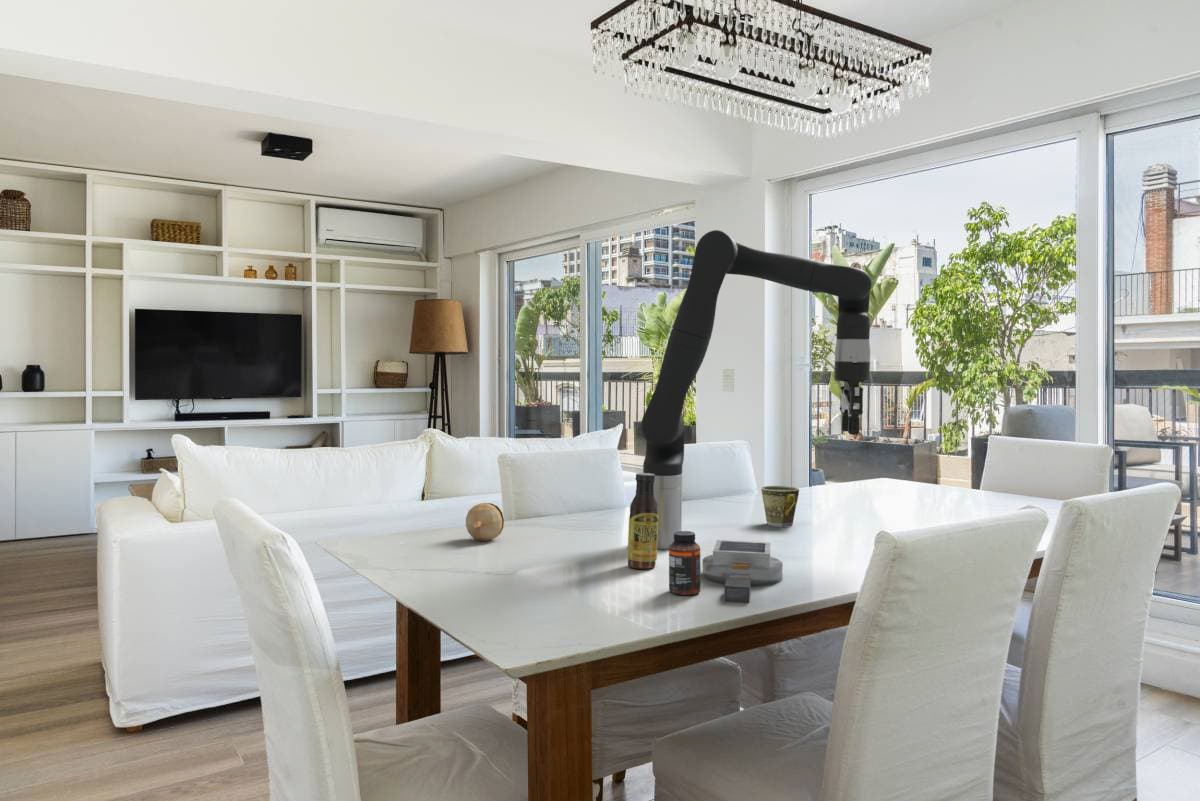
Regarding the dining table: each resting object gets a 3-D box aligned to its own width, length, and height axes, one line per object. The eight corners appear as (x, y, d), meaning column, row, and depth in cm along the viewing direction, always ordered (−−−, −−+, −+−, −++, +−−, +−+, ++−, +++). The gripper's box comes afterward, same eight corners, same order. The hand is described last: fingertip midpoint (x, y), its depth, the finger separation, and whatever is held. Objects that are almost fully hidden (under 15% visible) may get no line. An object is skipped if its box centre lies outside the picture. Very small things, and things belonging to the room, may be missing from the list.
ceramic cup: (754, 522, 229) (754, 486, 228) (786, 520, 232) (787, 485, 231) (778, 531, 216) (778, 493, 216) (811, 529, 219) (812, 491, 219)
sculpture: (510, 503, 210) (489, 497, 195) (513, 540, 207) (492, 536, 193) (476, 507, 211) (452, 501, 197) (478, 544, 209) (454, 541, 195)
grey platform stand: (692, 599, 152) (692, 566, 152) (706, 564, 179) (706, 537, 178) (782, 604, 148) (782, 571, 148) (782, 569, 175) (782, 540, 175)
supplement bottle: (697, 588, 160) (698, 529, 159) (702, 596, 154) (703, 535, 153) (666, 588, 160) (667, 529, 159) (670, 596, 154) (671, 535, 153)
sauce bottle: (632, 571, 173) (633, 476, 172) (623, 564, 179) (624, 472, 178) (662, 569, 174) (662, 475, 174) (652, 562, 180) (653, 471, 180)
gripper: (830, 360, 192) (828, 430, 193) (840, 359, 178) (838, 435, 179) (863, 360, 191) (861, 430, 192) (876, 360, 177) (874, 435, 178)
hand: (850, 432), depth 186 cm, fingers open, 8 cm apart
